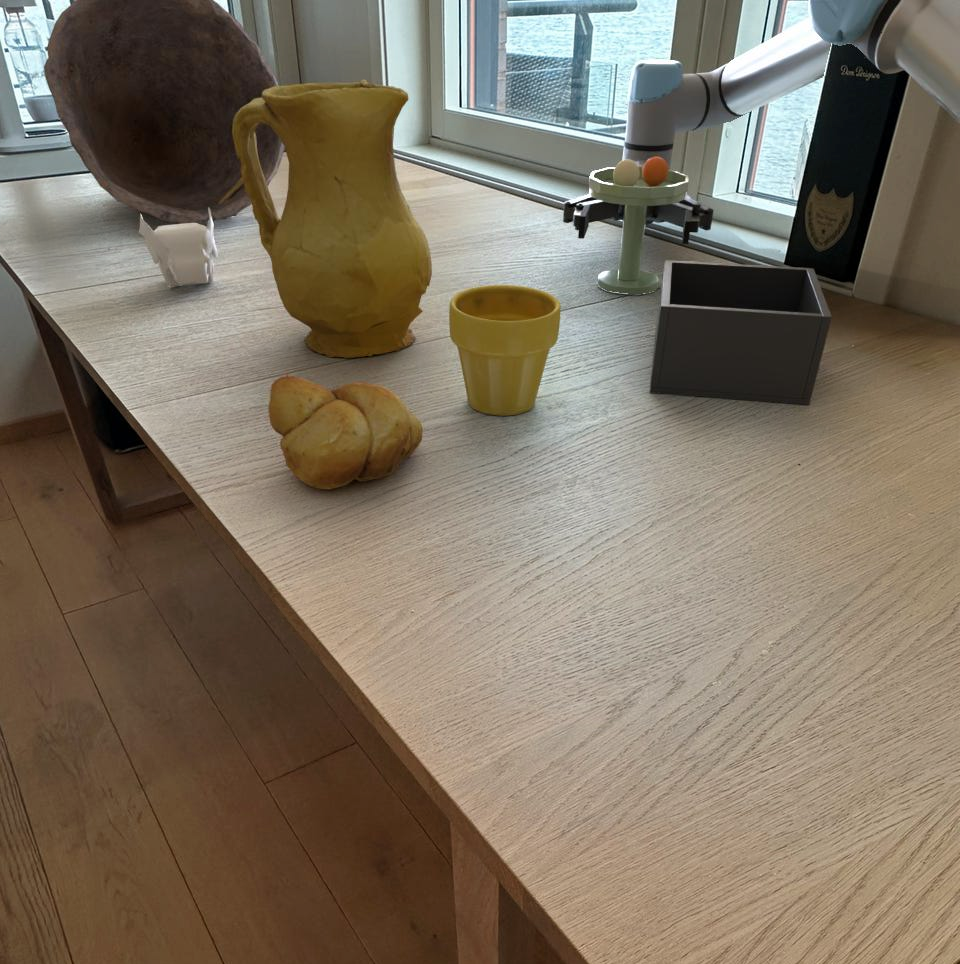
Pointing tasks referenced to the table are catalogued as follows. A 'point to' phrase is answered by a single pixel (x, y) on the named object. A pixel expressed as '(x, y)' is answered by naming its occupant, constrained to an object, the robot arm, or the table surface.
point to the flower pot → (503, 344)
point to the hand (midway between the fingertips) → (633, 230)
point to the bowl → (160, 102)
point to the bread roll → (341, 430)
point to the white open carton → (182, 251)
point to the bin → (739, 332)
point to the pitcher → (338, 215)
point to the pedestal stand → (634, 224)
